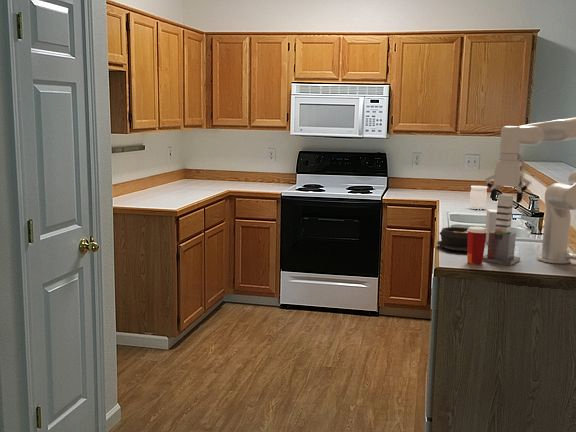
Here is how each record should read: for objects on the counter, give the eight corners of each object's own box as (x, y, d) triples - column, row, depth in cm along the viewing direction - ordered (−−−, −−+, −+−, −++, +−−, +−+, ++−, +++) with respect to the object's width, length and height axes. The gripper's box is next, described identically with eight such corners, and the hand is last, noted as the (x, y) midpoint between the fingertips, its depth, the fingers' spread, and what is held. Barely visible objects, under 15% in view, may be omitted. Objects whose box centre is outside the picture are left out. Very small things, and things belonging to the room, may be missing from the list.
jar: (475, 207, 412) (476, 185, 409) (489, 209, 404) (490, 186, 401) (465, 208, 405) (467, 185, 403) (479, 210, 397) (481, 187, 395)
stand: (520, 261, 253) (522, 232, 251) (510, 265, 243) (513, 236, 242) (490, 256, 260) (493, 228, 258) (480, 260, 251) (482, 232, 249)
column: (509, 240, 251) (513, 195, 248) (505, 241, 247) (509, 196, 245) (498, 238, 254) (502, 194, 251) (494, 239, 250) (498, 195, 247)
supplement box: (507, 245, 286) (510, 212, 283) (487, 244, 287) (489, 211, 285) (503, 241, 294) (506, 210, 292) (484, 240, 296) (486, 208, 294)
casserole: (482, 256, 260) (484, 236, 259) (436, 252, 264) (437, 233, 263) (479, 245, 284) (480, 226, 283) (436, 242, 288) (438, 223, 287)
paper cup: (488, 263, 247) (491, 228, 244) (479, 266, 241) (482, 230, 239) (469, 260, 252) (472, 225, 250) (460, 262, 246) (463, 227, 244)
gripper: (535, 158, 243) (531, 202, 246) (490, 156, 254) (487, 198, 256) (529, 159, 237) (525, 204, 240) (484, 157, 248) (481, 200, 250)
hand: (506, 201), depth 248 cm, fingers open, 9 cm apart
